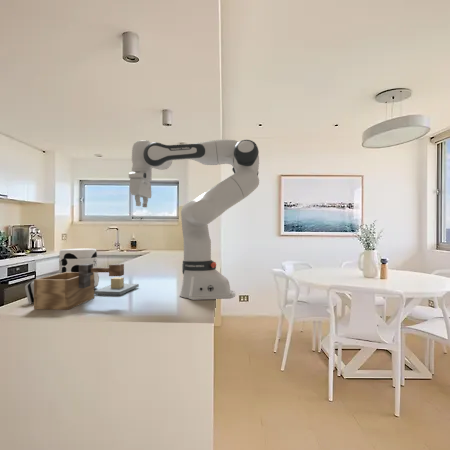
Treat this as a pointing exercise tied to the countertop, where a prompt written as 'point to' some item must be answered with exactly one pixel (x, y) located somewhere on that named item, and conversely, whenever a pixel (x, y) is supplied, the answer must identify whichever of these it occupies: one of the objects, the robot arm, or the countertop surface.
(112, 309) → the countertop surface
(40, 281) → the box
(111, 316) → the countertop surface
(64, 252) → the milk container
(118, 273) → the wooden mallet
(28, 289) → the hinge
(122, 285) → the lid
